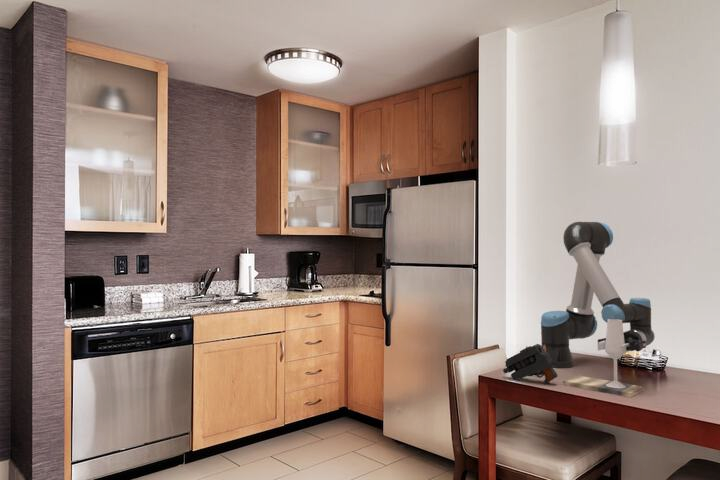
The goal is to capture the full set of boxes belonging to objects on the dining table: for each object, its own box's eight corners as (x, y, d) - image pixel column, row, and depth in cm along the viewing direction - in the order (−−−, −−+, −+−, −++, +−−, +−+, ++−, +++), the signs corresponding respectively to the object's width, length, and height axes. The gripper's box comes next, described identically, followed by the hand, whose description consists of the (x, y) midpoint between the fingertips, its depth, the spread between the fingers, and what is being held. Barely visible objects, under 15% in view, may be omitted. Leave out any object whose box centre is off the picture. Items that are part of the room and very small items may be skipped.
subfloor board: (563, 384, 196) (563, 380, 196) (576, 379, 204) (576, 375, 204) (630, 397, 179) (630, 392, 179) (642, 390, 187) (642, 386, 187)
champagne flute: (630, 387, 185) (629, 320, 186) (614, 388, 184) (613, 321, 184) (617, 383, 192) (616, 318, 192) (601, 384, 190) (600, 319, 191)
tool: (557, 379, 192) (537, 342, 197) (514, 397, 202) (496, 362, 207) (562, 376, 197) (542, 340, 202) (520, 394, 207) (501, 359, 212)
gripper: (661, 353, 193) (640, 362, 177) (605, 346, 208) (582, 354, 192) (660, 333, 194) (640, 341, 178) (605, 327, 208) (581, 334, 192)
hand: (610, 348), depth 185 cm, fingers open, 7 cm apart
